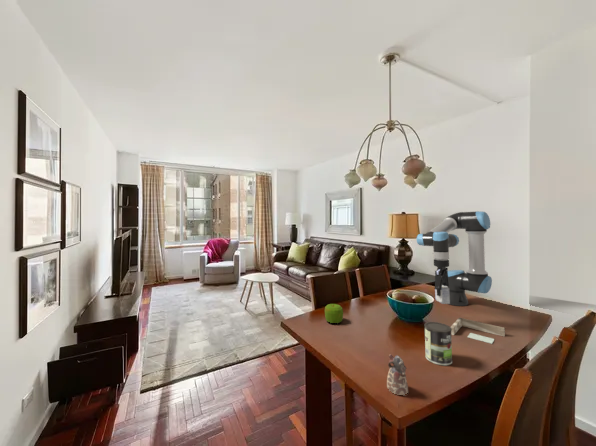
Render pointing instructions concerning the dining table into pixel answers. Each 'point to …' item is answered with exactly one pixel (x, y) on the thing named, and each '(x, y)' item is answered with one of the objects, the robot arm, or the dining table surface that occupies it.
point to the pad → (481, 338)
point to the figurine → (397, 376)
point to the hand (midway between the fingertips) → (442, 299)
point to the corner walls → (477, 327)
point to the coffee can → (438, 343)
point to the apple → (333, 313)
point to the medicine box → (444, 295)
